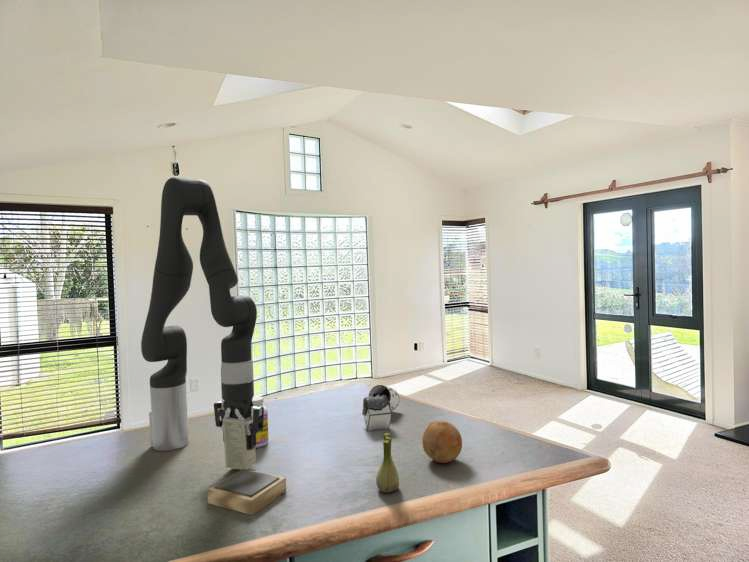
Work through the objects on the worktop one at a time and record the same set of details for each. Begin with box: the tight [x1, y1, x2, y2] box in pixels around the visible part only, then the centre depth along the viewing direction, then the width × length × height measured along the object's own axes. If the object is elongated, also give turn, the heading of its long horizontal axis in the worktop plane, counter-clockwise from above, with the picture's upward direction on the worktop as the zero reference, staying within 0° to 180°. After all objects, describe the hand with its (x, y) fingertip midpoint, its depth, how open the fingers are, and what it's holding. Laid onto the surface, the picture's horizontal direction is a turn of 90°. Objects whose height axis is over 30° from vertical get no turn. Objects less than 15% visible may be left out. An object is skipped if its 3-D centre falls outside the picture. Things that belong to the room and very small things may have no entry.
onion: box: [421, 420, 463, 464], centre depth 121 cm, size 10×10×10 cm
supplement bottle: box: [252, 395, 269, 449], centre depth 136 cm, size 7×7×13 cm
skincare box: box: [222, 416, 257, 470], centre depth 119 cm, size 6×4×12 cm
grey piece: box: [361, 384, 400, 431], centre depth 153 cm, size 25×10×10 cm, turn 171°
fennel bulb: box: [375, 432, 400, 494], centre depth 106 cm, size 6×5×12 cm
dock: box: [206, 469, 287, 516], centre depth 105 cm, size 12×11×3 cm
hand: (239, 446), depth 119 cm, fingers closed on skincare box, 6 cm apart
